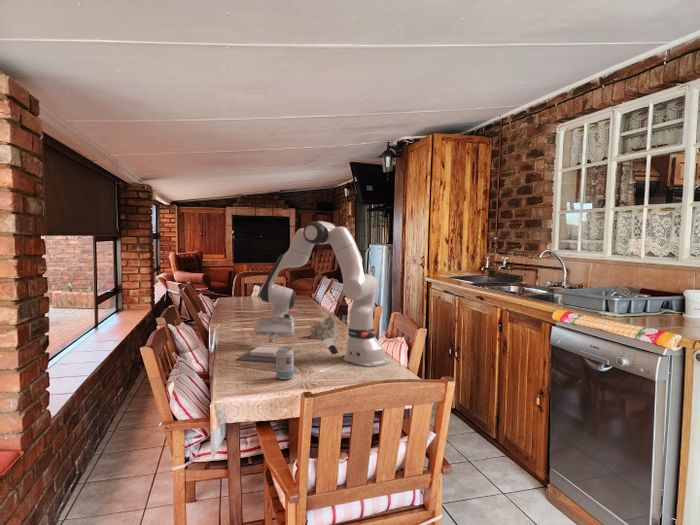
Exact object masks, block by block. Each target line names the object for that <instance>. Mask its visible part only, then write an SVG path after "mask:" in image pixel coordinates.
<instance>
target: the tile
mask: <svg viewBox="0 0 700 525" xmlns="http://www.w3.org/2000/svg"><path fill="white" fill-rule="evenodd" d="M278 348H281V346H262V345H261V346H257V347H256V348H254V349H252V351H250V350H249V351H250V355H251V356H259V357H275V356H276V353H277V351H278Z"/></svg>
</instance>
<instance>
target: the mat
mask: <svg viewBox="0 0 700 525" xmlns="http://www.w3.org/2000/svg"><path fill="white" fill-rule="evenodd" d="M252 350H253V349H252ZM252 350H249V351H247V352H245V353H243V354H242V355H241V356H239V357H237V358H235V361H237V360H242V361H241V362H253V361H260V362H259V363H269V362H274V363H273V364H276V356H275V357H259V356H251V355H250V351H252Z"/></svg>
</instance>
